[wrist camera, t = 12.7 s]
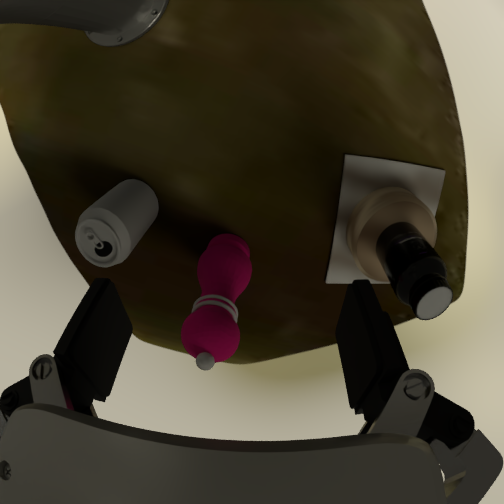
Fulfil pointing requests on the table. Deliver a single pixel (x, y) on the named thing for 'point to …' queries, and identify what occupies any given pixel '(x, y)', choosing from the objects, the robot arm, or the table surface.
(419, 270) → the supplement bottle
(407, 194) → the pedestal
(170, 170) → the table surface
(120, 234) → the can
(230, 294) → the pepper mill
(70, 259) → the table surface
